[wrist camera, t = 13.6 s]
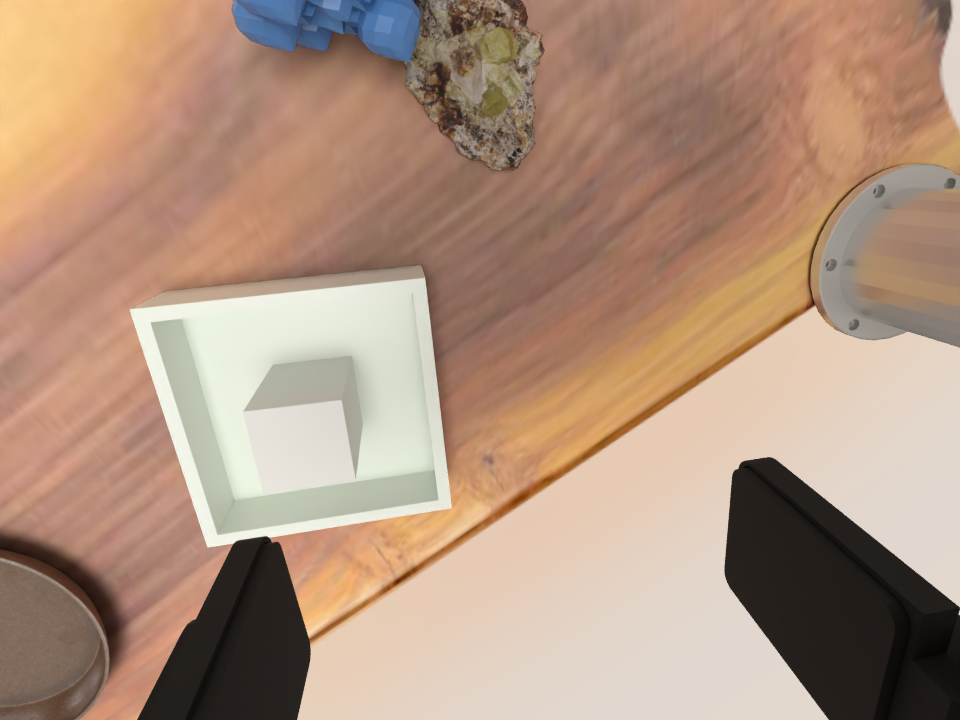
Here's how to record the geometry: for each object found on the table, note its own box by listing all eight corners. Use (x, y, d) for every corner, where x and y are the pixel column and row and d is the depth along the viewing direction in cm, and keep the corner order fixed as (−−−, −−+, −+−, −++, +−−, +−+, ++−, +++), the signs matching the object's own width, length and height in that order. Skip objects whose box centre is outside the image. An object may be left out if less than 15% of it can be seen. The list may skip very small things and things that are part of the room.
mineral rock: (364, -4, 26) (514, -80, 24) (386, 8, 30) (516, -56, 28) (444, 201, 30) (577, 151, 28) (454, 189, 34) (571, 144, 32)
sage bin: (421, 264, 33) (425, 277, 29) (445, 471, 38) (451, 508, 34) (164, 291, 31) (129, 309, 27) (228, 504, 37) (207, 547, 32)
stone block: (351, 356, 34) (341, 399, 27) (362, 424, 35) (355, 480, 29) (272, 364, 33) (242, 411, 26) (287, 433, 35) (263, 493, 28)
